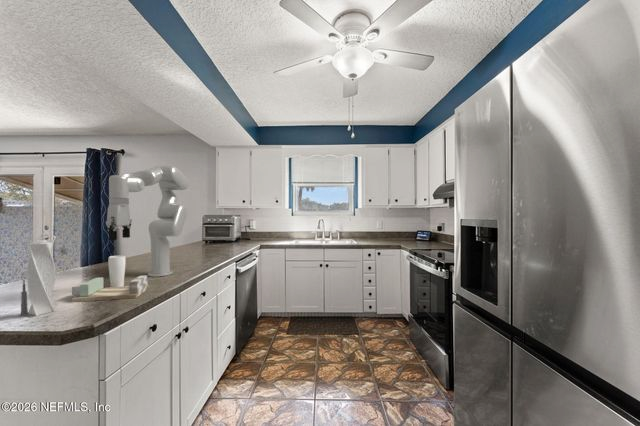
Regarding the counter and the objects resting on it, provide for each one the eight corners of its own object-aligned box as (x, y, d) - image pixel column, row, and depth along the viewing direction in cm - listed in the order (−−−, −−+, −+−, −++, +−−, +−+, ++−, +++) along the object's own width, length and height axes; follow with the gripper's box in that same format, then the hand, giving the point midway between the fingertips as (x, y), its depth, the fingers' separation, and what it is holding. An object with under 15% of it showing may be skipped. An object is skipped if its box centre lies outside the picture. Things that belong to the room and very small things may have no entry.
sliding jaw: (85, 288, 130) (85, 278, 130) (103, 287, 131) (103, 277, 131) (68, 297, 117) (68, 285, 117) (88, 295, 119) (88, 284, 119)
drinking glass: (128, 286, 139) (128, 256, 139) (112, 290, 134) (112, 258, 134) (121, 285, 143) (121, 254, 143) (105, 288, 137) (105, 256, 137)
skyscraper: (48, 308, 110) (48, 235, 110) (61, 310, 107) (61, 235, 107) (19, 315, 102) (18, 237, 102) (32, 318, 99) (31, 237, 99)
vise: (92, 291, 132) (92, 277, 131) (148, 288, 137) (148, 274, 137) (71, 302, 116) (71, 286, 116) (136, 297, 122) (135, 282, 122)
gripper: (122, 202, 143) (123, 236, 143) (97, 201, 125) (98, 240, 126) (138, 202, 143) (138, 236, 143) (115, 201, 126) (116, 240, 126)
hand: (119, 238), depth 134 cm, fingers open, 9 cm apart
